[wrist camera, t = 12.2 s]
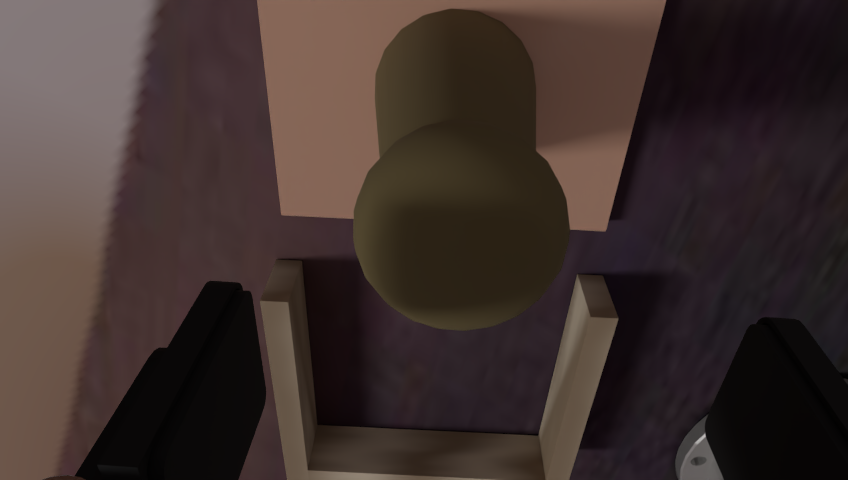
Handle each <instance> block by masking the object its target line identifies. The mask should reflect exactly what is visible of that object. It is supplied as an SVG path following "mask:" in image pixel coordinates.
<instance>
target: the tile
mask: <svg viewBox="0 0 848 480" xmlns="http://www.w3.org/2000/svg"><path fill="white" fill-rule="evenodd" d="M257 3H258V12H259V21H260V30H261V39H262V48H263V57H264V65H265V74H266V83H267V92H268V101H269V110H270V119H271V128H272V136H273V145H274V154H275V163H276V172H277V181H278V190H279V199H280V207H281V215H288V216H308V217H328V218H348V219H354V208H355V204H356V201H357V197H358V195H359V193H360V190H361V188H362V185H363V183H364V180H365V178H366V175H367V173H368V171H369V170H370V169H371V168H372V166H373V165H374V164H375V163H376V162H377V161H378V160H379V159H380V156H379V144H378V132H377V120H376V107H375V75H376V71H377V68H378V66H379V63H380V60H381V58H382V55H383V52H384V50H385V48H386V47H387V46H388V45H389V44H390V42H391V41H392V40H393V39H394V37H395V36H396V35H397V34H398V33H399V31H400V30H401V29H402V28H404V27H406V26H407V25H409V24H410V23H412V22H414V21H415V20H417V19H418V18H420V17H421V16H423V15H426V14H430V13H434V12H438V11H442V10H446V9H461V10H472V11H479V12H481V13H483V14H485V15H488V16H490V17H492V18H494V19H497V20H499V21H501V22H503V23H504V24H505V25H506V26H507V27H508V28H509V29H510V30H511V31H512V32H513V33H514V34H515V35H516V36H517V37H518V38H520V39H521V41H522V43H523V45H524V47H525V49H526V51H527V52H528V54H529V56H530V58H531V60H532V62H533V68H534V75H535V83H536V151H537V152H538V153H539V154H540V155H541V156H542V157H543V158H545V159H546V160H547V161H548V163H549V165H550V166H551V168H552V170H553V172H554V174H555V176H556V177H557V179H558V181H559V183H560V185H561V187H562V189H563V192H564V194H565V197H566V200H567V207H568V216H569V224H570V230H590V231H606V228H607V225H608V221H609V217H610V213H611V209H612V206H613V202H614V198H615V194H616V190H617V186H618V183H619V179H620V175H621V171H622V167H623V164H624V160H625V156H626V152H627V148H628V144H629V141H630V137H631V133H632V129H633V125H634V122H635V118H636V114H637V110H638V106H639V103H640V99H641V95H642V91H643V87H644V83H645V80H646V76H647V72H648V68H649V64H650V61H651V57H652V53H653V49H654V45H655V41H656V38H657V34H658V30H659V26H660V22H661V19H662V15H663V11H664V7H665V3H666V0H257Z"/></svg>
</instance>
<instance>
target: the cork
mask: <svg viewBox="0 0 848 480" xmlns="http://www.w3.org/2000/svg"><path fill="white" fill-rule="evenodd" d="M375 107H376V120H377V132H378V144H379V156H380V159H379V160H378V161H377V162H376V163H375V164H374V165H373V166H372V168H371V169H370V170H369V171H368V173H367V175H366V178H365V180H364V183H363V185H362V188H361V190H360V193H359V195H358V197H357V201H356V204H355V208H354V223H353V240H354V246H355V251H356V254H357V257H358V259H359V262H360V265H361V267H362V270H363V273H364V276H365V278H366V279H367V280H368V281H369V283H370V284H371V285H372V286H373V287H374V289H375V290H376V291H377V292H378V293H379V295H380V296H381V297H382V298H383V299H384V300H385V301H386V302H387V303H388V304H389V306H391V307H392V308H394V309H395V310H397V311H399V312H400V313H402V314H403V315H405V316H406V317H408V318H409V319H411V320H413V321H416V322H419V323H422V324H425V325H428V326H431V327H434V328H437V329H450V330H462V331H466V330H473V329H479V328H486V327H492V326H495V325H497V324H500V323H502V322H504V321H507V320H509V319H512V318H514V317H516V316H518V315H520V314H521V313H522V312H523V311H525V310H526V309H527V308H529V307H530V306H531V305H533V304H534V303H535V302H536V301H538V300H539V299H540V298H541V296H542V295H543V294H544V293H545V292H546V290H547V289H548V287H549V286H550V284H551V283H552V282H553V280H554V279H555V277H556V276H557V274H558V273H559V272H560V270H561V268H562V264H563V261H564V257H565V253H566V249H567V246H568V242H569V233H570V224H569V216H568V207H567V200H566V197H565V194H564V192H563V189H562V187H561V185H560V183H559V181H558V179H557V177H556V176H555V174H554V172H553V170H552V168H551V166H550V165H549V163H548V161H547V160H546V159H545V158H543V157H542V156H541V155H540V154H539V153H538V152H537V151H536V83H535V75H534V68H533V62H532V60H531V58H530V56H529V54H528V52H527V51H526V49H525V47H524V45H523V43H522V41H521V39H520V38H518V37H517V36H516V35H515V34H514V33H513V32H512V31H511V30H510V29H509V28H508V27H507V26H506V25H505V24H504V23H503V22H501V21H499V20H497V19H494V18H492V17H490V16H488V15H485V14H483V13H481V12H479V11H472V10H461V9H446V10H442V11H438V12H434V13H430V14H426V15H423V16H421V17H420V18H418V19H417V20H415V21H414V22H412V23H410V24H409V25H407V26H406V27H404V28H402V29H401V30H400V31H399V33H398V34H397V35H396V36H395V37H394V39H393V40H392V41H391V42H390V44H389V45H388V46H387V47H386V48H385V50H384V52H383V55H382V58H381V60H380V63H379V66H378V68H377V71H376V75H375Z"/></svg>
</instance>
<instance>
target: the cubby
mask: <svg viewBox="0 0 848 480" xmlns="http://www.w3.org/2000/svg"><path fill="white" fill-rule="evenodd" d="M260 304H261V310H262V317H263V323H264V330H265V336H266V343H267V350H268V356H269V363H270V369H271V376H272V383H273V389H274V396H275V402H276V409H277V416H278V422H279V429H280V435H281V442H282V448H283V455H284V462H285V468H286V475H287V480H569V478H570V475H571V471H572V468H573V465H574V462H575V458H576V455H577V452H578V449H579V445H580V442H581V439H582V436H583V432H584V429H585V426H586V423H587V419H588V416H589V413H590V410H591V406H592V403H593V400H594V397H595V393H596V390H597V387H598V384H599V380H600V377H601V374H602V371H603V367H604V364H605V361H606V358H607V355H608V351H609V348H610V345H611V342H612V338H613V335H614V332H615V329H616V325H617V322H618V319H619V318H618V316H617V313H616V310H615V307H614V305H613V302H612V299H611V297H610V294H609V291H608V288H607V286H606V283H605V280H604V278H603V276H601V275H581V274H577V278H576V282H575V286H574V290H573V295H572V299H571V303H570V307H569V311H568V315H567V319H566V324H565V328H564V332H563V336H562V340H561V344H560V348H559V353H558V357H557V361H556V365H555V369H554V373H553V377H552V382H551V386H550V390H549V394H548V398H547V402H546V406H545V411H544V415H543V419H542V423H541V427H540V431H539V435H538V436H534V435H513V434H493V433H472V432H452V431H431V430H411V429H390V428H370V427H349V426H328V425H317V415H316V405H315V394H314V384H313V373H312V362H311V352H310V341H309V331H308V320H307V309H306V299H305V288H304V277H303V267H302V261H298V260H278V259H276V262H275V264H274V267H273V269H272V272H271V275H270V277H269V280H268V282H267V285H266V287H265V290H264V292H263V295H262V297H261V300H260Z"/></svg>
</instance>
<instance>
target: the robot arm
mask: <svg viewBox="0 0 848 480" xmlns="http://www.w3.org/2000/svg"><path fill="white" fill-rule="evenodd" d="M265 399H266V386H265V380H264V373H263V366H262V360H261V353H260V346H259V339H258V333H257V326H256V319H255V312H254V306H253V299H252V294H251V292H250V291H243V288H242V286H241V284H240V283H236V282H221V281H209V282H207V283H206V284H205V286H204V287H203V289H202V291H201V292H200V294H199V296H198V297H197V299H196V301H195V302H194V304H193V306H192V307H191V309H190V311H189V312H188V314H187V316H186V317H185V319H184V321H183V322H182V324H181V326H180V327H179V329H178V331H177V332H176V334H175V336H174V337H173V339H172V341H171V342H170V344H169V346H168V347H167V348H158V349H156V350H155V351H154V352H153V353H152V354H151V355H150V357H149V358H148V360H147V361H146V363H145V364H144V366H143V368H142V369H141V371H140V372H139V374H138V376H137V377H136V379H135V380H134V382H133V384H132V385H131V387H130V388H129V390H128V392H127V393H126V395H125V396H124V398H123V400H122V401H121V403H120V404H119V406H118V408H117V409H116V411H115V412H114V414H113V416H112V417H111V419H110V420H109V422H108V424H107V425H106V427H105V428H104V430H103V432H102V433H101V435H100V436H99V438H98V440H97V441H96V443H95V444H94V446H93V448H92V449H91V451H90V452H89V454H88V456H87V457H86V459H85V460H84V462H83V463H82V465H81V467H80V468H79V470H78V471H77V473H76V475H75V476H70V475H63V476H54V477H49V478H46V479H43V480H238V479H239V476H240V473H241V470H242V468H243V465H244V462H245V459H246V456H247V454H248V451H249V448H250V445H251V442H252V440H253V437H254V434H255V431H256V428H257V426H258V423H259V420H260V417H261V414H262V412H263V409H264V405H265ZM675 466H676V475H677V477H678V480H848V379H844V378H843V377H842V376H841V375H840V373H839V372H838V371H837V369H836V368H835V367H834V365H833V364H832V362H831V361H830V360H829V358H828V357H827V356H826V354H825V353H824V352H823V350H822V349H821V348H820V346H819V345H818V344H817V342H816V341H815V340H814V338H813V337H812V336H811V334H810V333H809V332H808V330H807V329H806V328H805V326H804V325H803V324H802V323H801V322H800V321H799V320H796V319H786V318H771V317H764V318H761V319H760V320H758V322H757V323H756V324H752V325H750V326H749V327H748V329H747V330H746V333H745V335H744V337H743V339H742V341H741V344H740V346H739V348H738V350H737V352H736V355H735V357H734V359H733V361H732V363H731V366H730V368H729V370H728V372H727V374H726V377H725V379H724V381H723V383H722V385H721V387H720V390H719V392H718V394H717V396H716V398H715V401H714V403H713V405H712V407H711V409H710V412H709V414H708V415H707V416H705V417H704V418H703V419H702V420H700V421H699V422H698V423H697V424H696V425H695V426H694V427H693V428H692V430H691V431H690V432H689V433H688V434H687V435H686V437H685V438H684V440H683V442H682V444H681V445H680V447H679V449H678V452H677V457H676V461H675Z"/></svg>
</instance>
